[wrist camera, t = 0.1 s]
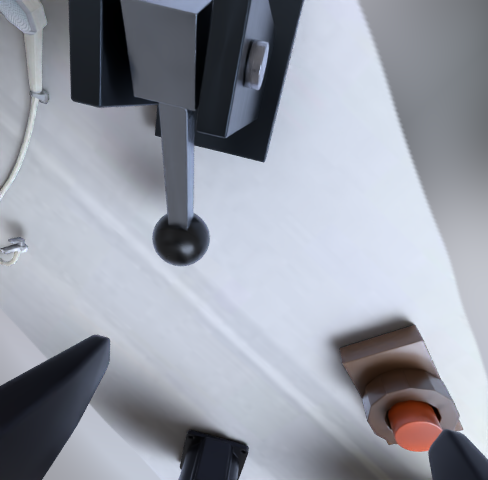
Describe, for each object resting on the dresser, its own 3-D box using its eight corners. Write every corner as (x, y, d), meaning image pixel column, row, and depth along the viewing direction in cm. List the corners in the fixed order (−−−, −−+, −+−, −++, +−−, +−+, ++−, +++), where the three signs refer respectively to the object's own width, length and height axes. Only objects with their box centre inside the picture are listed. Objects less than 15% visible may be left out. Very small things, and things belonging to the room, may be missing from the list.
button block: (454, 411, 27) (476, 453, 24) (382, 426, 29) (394, 467, 25) (415, 324, 24) (434, 358, 21) (338, 348, 26) (345, 383, 22)
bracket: (265, 159, 20) (242, 216, 10) (161, 133, 20) (43, 165, 11) (307, -12, 16) (330, -173, 7) (178, -41, 17) (17, -238, 7)
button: (439, 423, 23) (450, 447, 22) (396, 432, 24) (403, 455, 23) (426, 394, 22) (436, 416, 21) (381, 405, 23) (387, 427, 22)
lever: (214, 241, 20) (199, 282, 18) (166, 229, 20) (146, 268, 18) (238, -7, 10) (210, 22, 8) (143, -29, 10) (93, -5, 8)
